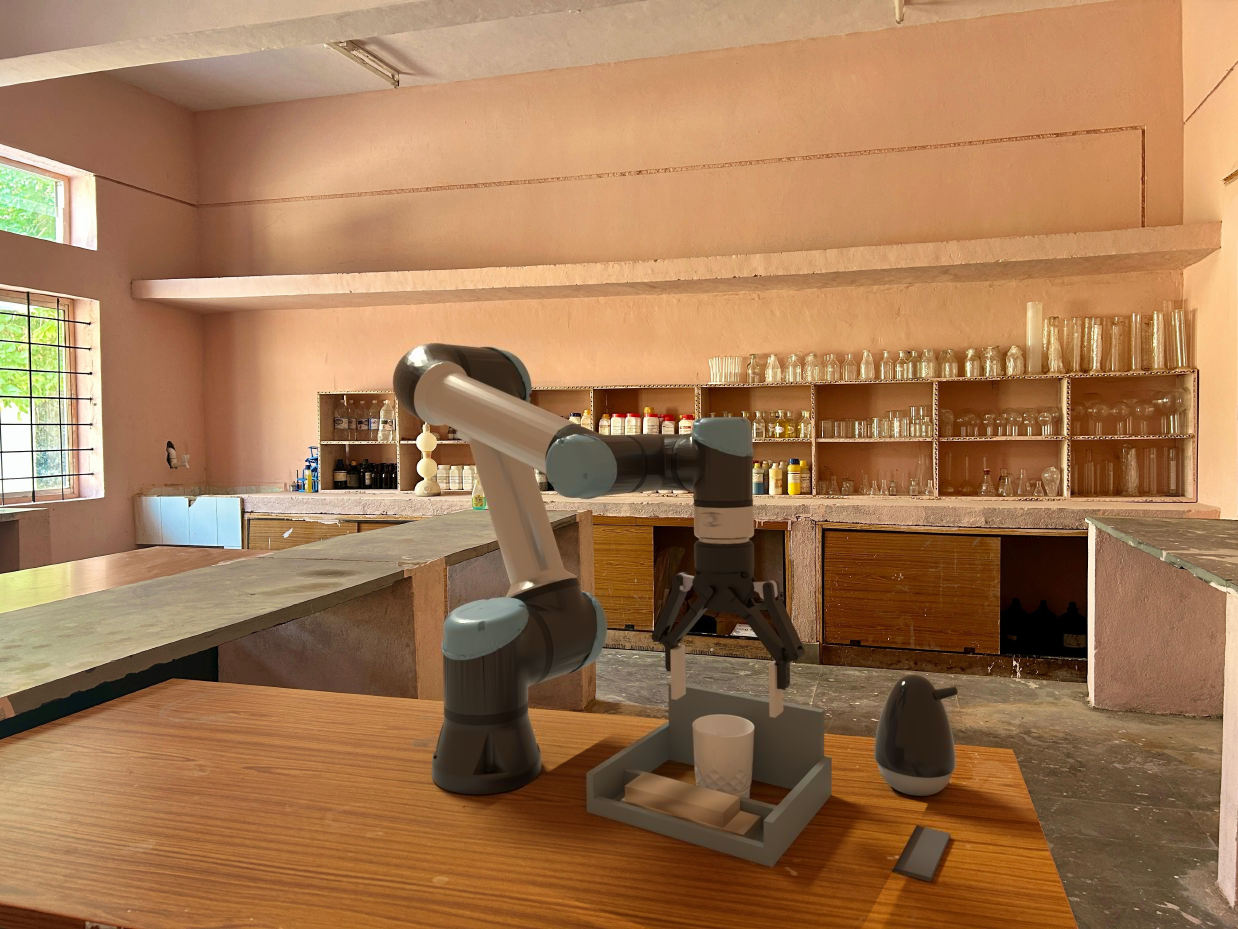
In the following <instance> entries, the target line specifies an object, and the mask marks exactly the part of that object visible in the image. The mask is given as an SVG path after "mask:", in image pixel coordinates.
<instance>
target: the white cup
mask: <svg viewBox="0 0 1238 929" xmlns="http://www.w3.org/2000/svg"><path fill="white" fill-rule="evenodd" d="M692 727H693V749H694V765H693V766H694V777H695V782H696V783H695V785H699V786H702V787H706V788H710V789H714V790H718V791H722V792H726V793H730V794H734V795H738V796H741V797H745V798H749V799H750V796H751V795H750V794H751V786H752V785H751V784H752V781H753V780H752V764H753V748H754V728H755V727H754V724H753V723H752V722H750V721H749V720H747V719H744V718H742V717H738V716H733V715H708V716H703V717H700V718H698V719H696V720H695V721H694V722H693V724H692Z"/></svg>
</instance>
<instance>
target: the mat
mask: <svg viewBox="0 0 1238 929" xmlns="http://www.w3.org/2000/svg"><path fill="white" fill-rule="evenodd" d="M950 839H951V833H950V832H946V831H942V830H938V829H935V828H930V827H925V826H922V825H917V824H916V825H915V827H914V829H913V831H912V833H911V834H910V837H909V838H908V840H907V842H906V844H905V846H904V847H903V850H902V851H901V854H900V855H899V857H898V859H897V861H896V862H895V864H894V866H893V868H892V870H891V872H893V873H896V874H900V875H902V876H903V875H904V876H907V877H911V878H915V879H918V880H922V881H926V882H929V883H931V882H932V881H933V878H934V876H935V873H936V871H937V868H938V866H939V865H940V862H941V859H942V858H943V854H944V852H945V850H946V848H947V846H948V844H949V841H950Z"/></svg>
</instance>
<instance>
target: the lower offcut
mask: <svg viewBox="0 0 1238 929" xmlns="http://www.w3.org/2000/svg"><path fill="white" fill-rule="evenodd" d="M621 802H622V803H625V804H629V805H632V806H636V807H639V808H643V809H647V810H650V811H654V812H657V813H661V814H664V815H668V816H671V817H675V818H678V819H682V820H685V821H689V822H692V823H696V824H699V825H703V826H706V827H710V828H713V829H717V830H720V831H724V832H727V833H731V834H734V835H738V836H741V837H745V838H748V839H752V840H753V839H754V838H755V837H756V836H757V835H758V834H759V833H760V832H761V816H758V815H754V814H750V813H747V812H743V811H740V812H739V813H738V814H737V815H736V816H735V817H734V818H733V819H732V820H731V821H730V822H729V823H728V824H727V825H726V826H725V827H724V828H721V827H717V826H714V825H710V824H707V823H703V822H699V821H696V820H692V819H689V818H685V817H682V816H678V815H675V814H671V813H668V812H664V811H661V810H657V809H653V808H650V807H646V806H643V805H639V804H636V803H632V802H629V801H625V797H624V798H623V799H621Z"/></svg>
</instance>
